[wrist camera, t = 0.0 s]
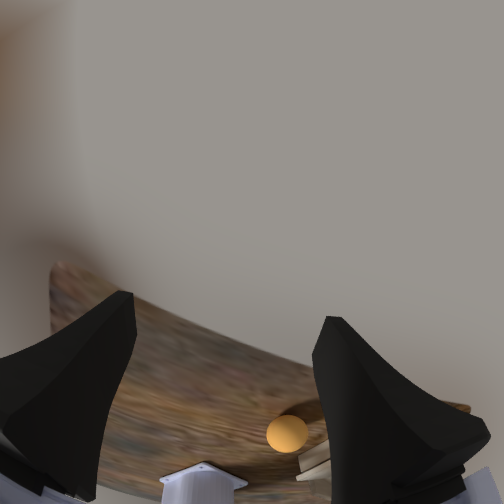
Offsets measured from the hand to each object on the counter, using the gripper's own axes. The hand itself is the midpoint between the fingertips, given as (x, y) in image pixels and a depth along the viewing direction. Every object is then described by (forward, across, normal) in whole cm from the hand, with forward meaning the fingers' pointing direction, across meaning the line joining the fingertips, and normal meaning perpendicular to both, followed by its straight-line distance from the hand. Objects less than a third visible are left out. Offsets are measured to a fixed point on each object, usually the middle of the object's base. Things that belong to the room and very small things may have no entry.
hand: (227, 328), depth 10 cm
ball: (+6, -7, +18) cm, 20 cm away
